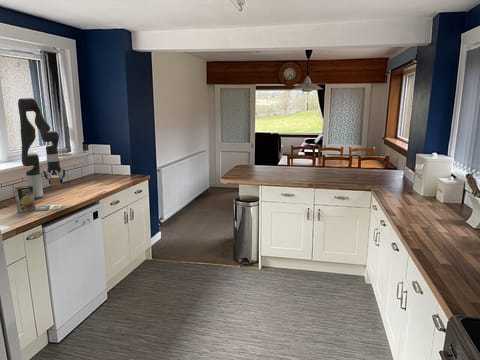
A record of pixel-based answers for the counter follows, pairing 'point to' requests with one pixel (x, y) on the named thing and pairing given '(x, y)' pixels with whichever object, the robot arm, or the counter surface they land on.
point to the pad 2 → (56, 207)
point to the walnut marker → (55, 181)
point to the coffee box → (25, 199)
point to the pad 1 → (42, 208)
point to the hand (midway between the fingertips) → (56, 183)
